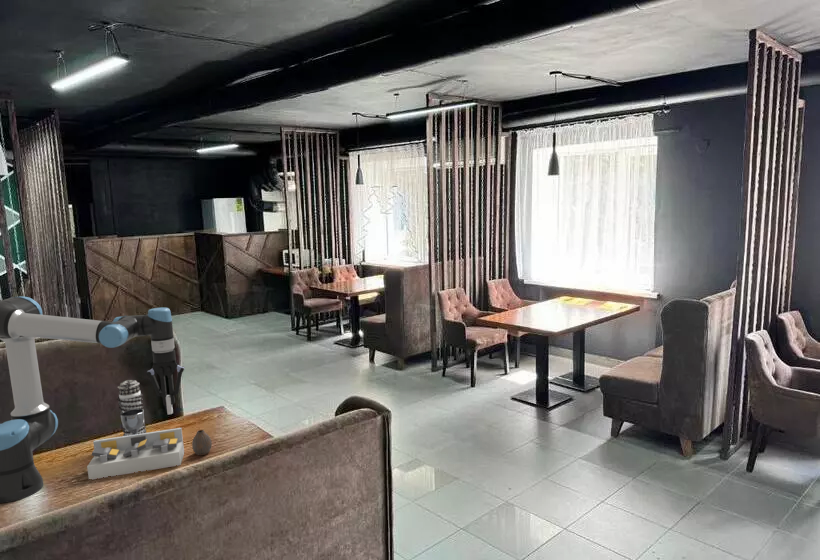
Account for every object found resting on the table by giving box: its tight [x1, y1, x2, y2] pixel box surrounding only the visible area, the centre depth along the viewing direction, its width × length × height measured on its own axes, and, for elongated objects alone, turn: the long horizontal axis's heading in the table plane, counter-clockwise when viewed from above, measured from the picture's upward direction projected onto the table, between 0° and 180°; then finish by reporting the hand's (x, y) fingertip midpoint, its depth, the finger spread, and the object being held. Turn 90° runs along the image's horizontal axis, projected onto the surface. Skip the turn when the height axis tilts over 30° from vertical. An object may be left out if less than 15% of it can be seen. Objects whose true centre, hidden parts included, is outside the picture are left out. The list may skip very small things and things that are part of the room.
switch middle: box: [123, 439, 149, 458], centre depth 203 cm, size 8×5×2 cm, turn 105°
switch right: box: [153, 438, 178, 449], centre depth 206 cm, size 8×5×2 cm, turn 105°
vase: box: [191, 429, 213, 456], centre depth 212 cm, size 7×7×9 cm
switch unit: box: [86, 427, 185, 480], centre depth 204 cm, size 30×11×10 cm, turn 105°
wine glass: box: [120, 408, 145, 435], centre depth 219 cm, size 8×8×15 cm
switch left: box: [91, 447, 120, 459], centre depth 201 cm, size 8×5×2 cm, turn 105°
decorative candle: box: [117, 379, 147, 436], centre depth 227 cm, size 9×9×25 cm
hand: (170, 413), depth 205 cm, fingers closed
